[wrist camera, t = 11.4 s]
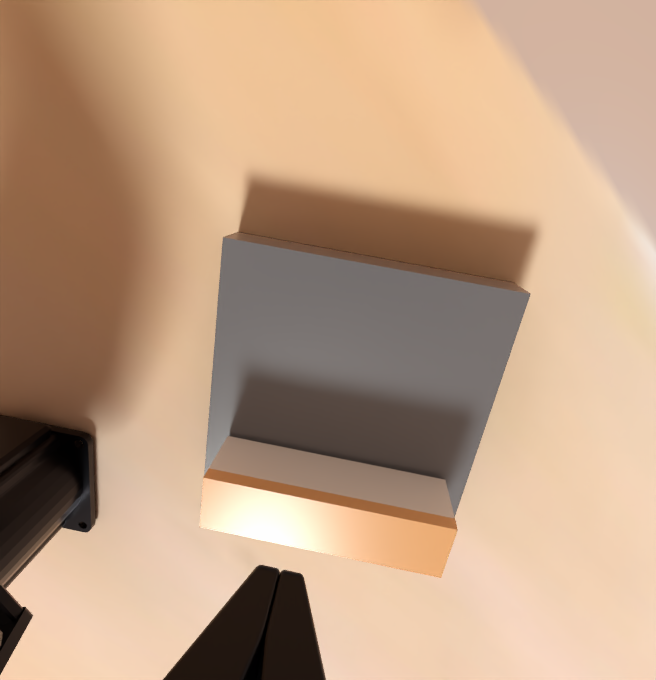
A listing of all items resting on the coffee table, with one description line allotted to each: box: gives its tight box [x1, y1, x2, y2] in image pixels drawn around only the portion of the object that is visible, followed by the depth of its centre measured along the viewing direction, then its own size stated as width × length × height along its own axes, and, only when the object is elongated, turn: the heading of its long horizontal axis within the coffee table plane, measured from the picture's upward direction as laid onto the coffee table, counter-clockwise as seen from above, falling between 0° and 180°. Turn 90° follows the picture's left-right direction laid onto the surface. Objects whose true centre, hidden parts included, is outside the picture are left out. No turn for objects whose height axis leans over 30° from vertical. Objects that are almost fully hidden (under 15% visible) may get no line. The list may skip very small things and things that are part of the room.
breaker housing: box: [204, 232, 530, 517], centre depth 20 cm, size 12×12×2 cm
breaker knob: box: [199, 436, 457, 578], centre depth 18 cm, size 2×10×3 cm, turn 80°
